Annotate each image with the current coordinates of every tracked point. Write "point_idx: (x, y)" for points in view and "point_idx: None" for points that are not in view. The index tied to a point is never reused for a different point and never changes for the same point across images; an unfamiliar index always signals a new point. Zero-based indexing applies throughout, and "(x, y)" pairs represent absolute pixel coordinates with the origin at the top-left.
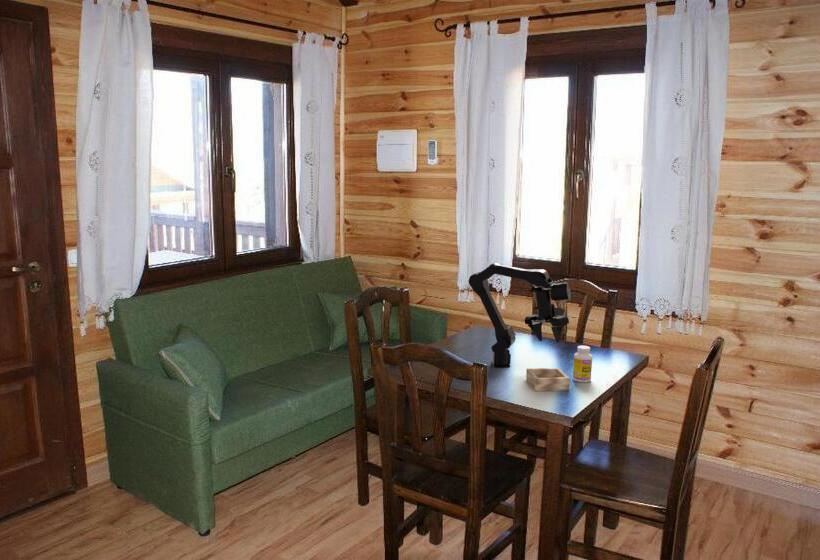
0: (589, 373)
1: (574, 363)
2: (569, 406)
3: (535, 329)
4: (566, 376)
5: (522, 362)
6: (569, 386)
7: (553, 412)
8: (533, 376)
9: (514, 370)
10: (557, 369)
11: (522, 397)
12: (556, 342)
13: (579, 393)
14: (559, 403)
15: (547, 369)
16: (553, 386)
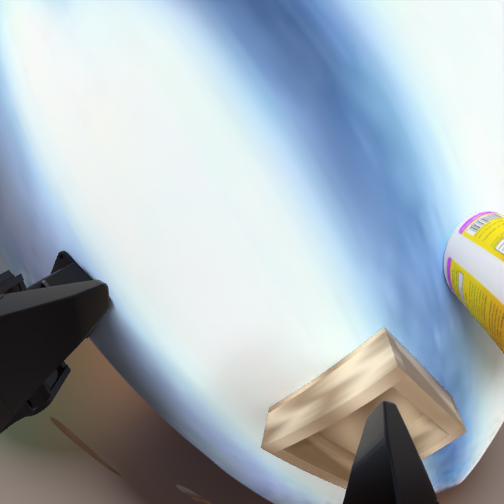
0: None
1: (491, 336)
2: (457, 463)
3: (7, 406)
4: (453, 428)
5: (94, 190)
6: (456, 408)
7: None
8: (332, 481)
9: (150, 327)
10: (399, 390)
11: (337, 489)
12: (366, 426)
13: (483, 393)
14: (434, 467)
15: (349, 412)
16: None
